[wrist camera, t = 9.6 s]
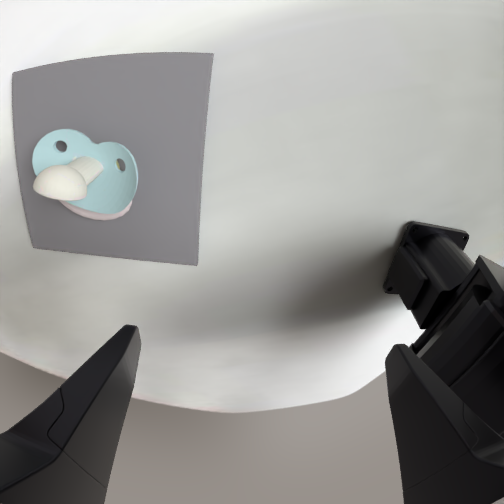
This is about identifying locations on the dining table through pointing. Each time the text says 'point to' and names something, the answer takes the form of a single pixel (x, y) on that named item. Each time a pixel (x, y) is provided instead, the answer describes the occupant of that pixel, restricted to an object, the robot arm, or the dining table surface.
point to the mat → (129, 135)
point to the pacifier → (85, 174)
